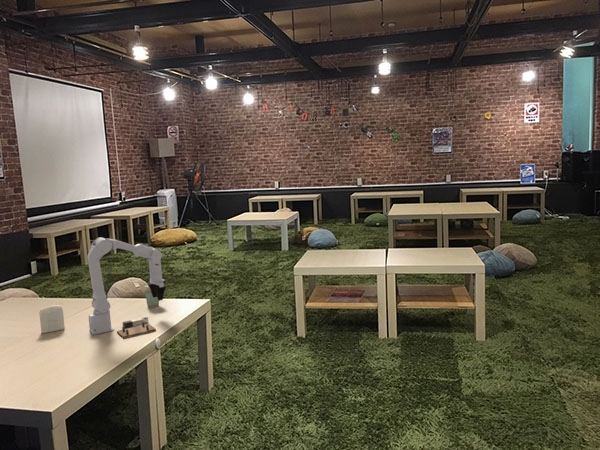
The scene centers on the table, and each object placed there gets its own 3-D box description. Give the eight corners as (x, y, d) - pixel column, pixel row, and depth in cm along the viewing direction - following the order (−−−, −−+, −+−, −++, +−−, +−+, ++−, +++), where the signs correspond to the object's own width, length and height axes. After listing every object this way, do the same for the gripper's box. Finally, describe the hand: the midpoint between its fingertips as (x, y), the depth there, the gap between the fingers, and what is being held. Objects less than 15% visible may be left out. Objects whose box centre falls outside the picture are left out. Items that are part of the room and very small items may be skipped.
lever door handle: (124, 329, 242) (124, 323, 242) (122, 327, 245) (122, 321, 245) (149, 323, 249) (149, 318, 249) (147, 321, 252) (146, 316, 251)
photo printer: (64, 327, 249) (61, 302, 248) (65, 329, 246) (62, 304, 244) (40, 331, 244) (37, 307, 242) (42, 334, 240) (39, 309, 238)
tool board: (123, 338, 229) (122, 332, 228) (117, 332, 237) (116, 326, 237) (155, 330, 237) (155, 324, 237) (148, 325, 246) (148, 319, 245)
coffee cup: (151, 309, 272) (149, 288, 270) (142, 307, 277) (140, 286, 275) (164, 305, 278) (162, 284, 277) (155, 303, 284) (153, 282, 282)
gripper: (168, 273, 250) (170, 300, 252) (158, 268, 262) (160, 294, 264) (154, 275, 246) (157, 302, 248) (144, 270, 258) (147, 296, 260)
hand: (157, 298), depth 256 cm, fingers open, 7 cm apart
